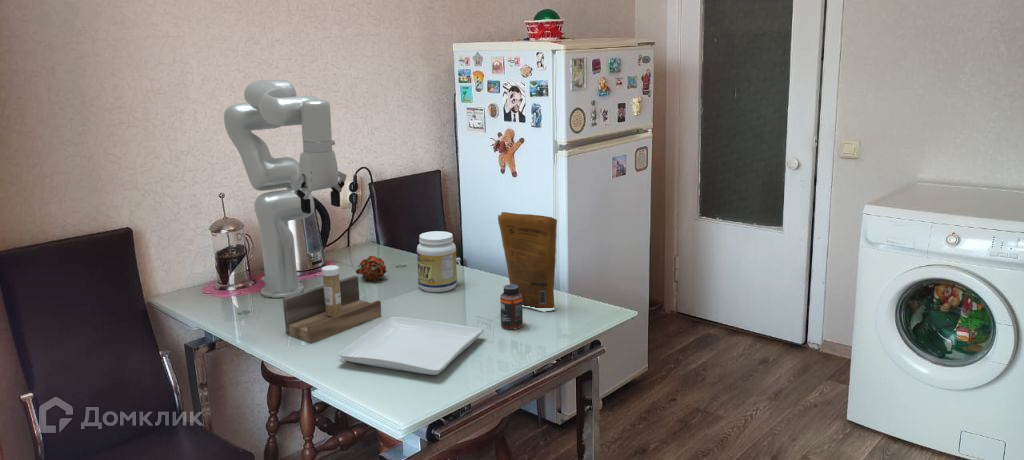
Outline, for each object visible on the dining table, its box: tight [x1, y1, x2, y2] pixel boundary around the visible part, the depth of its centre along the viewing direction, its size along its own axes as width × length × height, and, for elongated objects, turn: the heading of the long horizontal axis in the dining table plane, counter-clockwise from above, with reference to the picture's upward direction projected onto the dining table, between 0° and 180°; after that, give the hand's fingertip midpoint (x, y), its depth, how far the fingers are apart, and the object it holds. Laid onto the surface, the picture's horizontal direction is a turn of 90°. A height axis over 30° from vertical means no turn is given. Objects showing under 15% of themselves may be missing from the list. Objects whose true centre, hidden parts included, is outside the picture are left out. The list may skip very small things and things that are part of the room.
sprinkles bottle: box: [321, 264, 342, 317], centre depth 198 cm, size 5×5×13 cm
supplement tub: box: [416, 230, 458, 293], centre depth 228 cm, size 12×12×17 cm
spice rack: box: [282, 275, 382, 344], centre depth 199 cm, size 11×24×10 cm, turn 142°
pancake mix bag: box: [497, 211, 558, 308], centre depth 209 cm, size 7×19×28 cm, turn 51°
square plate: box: [337, 316, 484, 376], centre depth 181 cm, size 27×27×4 cm
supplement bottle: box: [499, 283, 524, 330], centre depth 196 cm, size 6×6×11 cm
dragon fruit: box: [355, 255, 388, 282], centre depth 238 cm, size 8×8×12 cm
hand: (321, 209), depth 198 cm, fingers open, 9 cm apart
